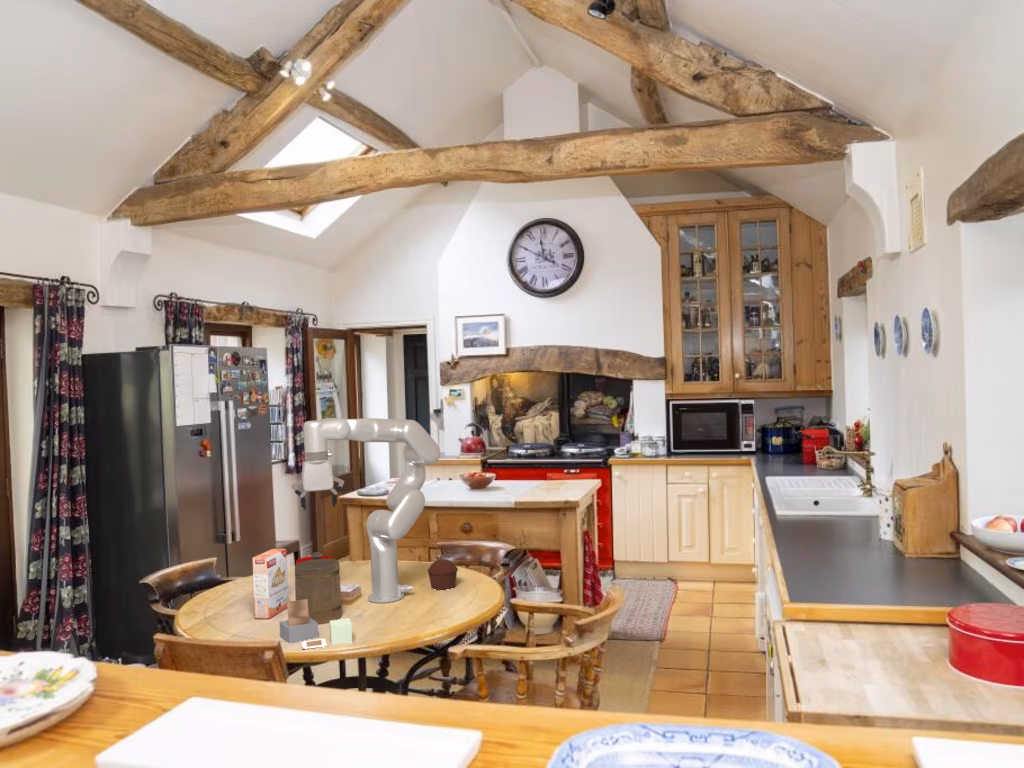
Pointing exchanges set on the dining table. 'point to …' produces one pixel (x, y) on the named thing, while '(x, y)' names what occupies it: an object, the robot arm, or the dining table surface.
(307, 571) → the wooden container
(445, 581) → the muffin
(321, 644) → the tile
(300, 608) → the walnut cube
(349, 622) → the sage cube
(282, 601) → the cracker box
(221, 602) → the dining table surface
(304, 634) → the base block
